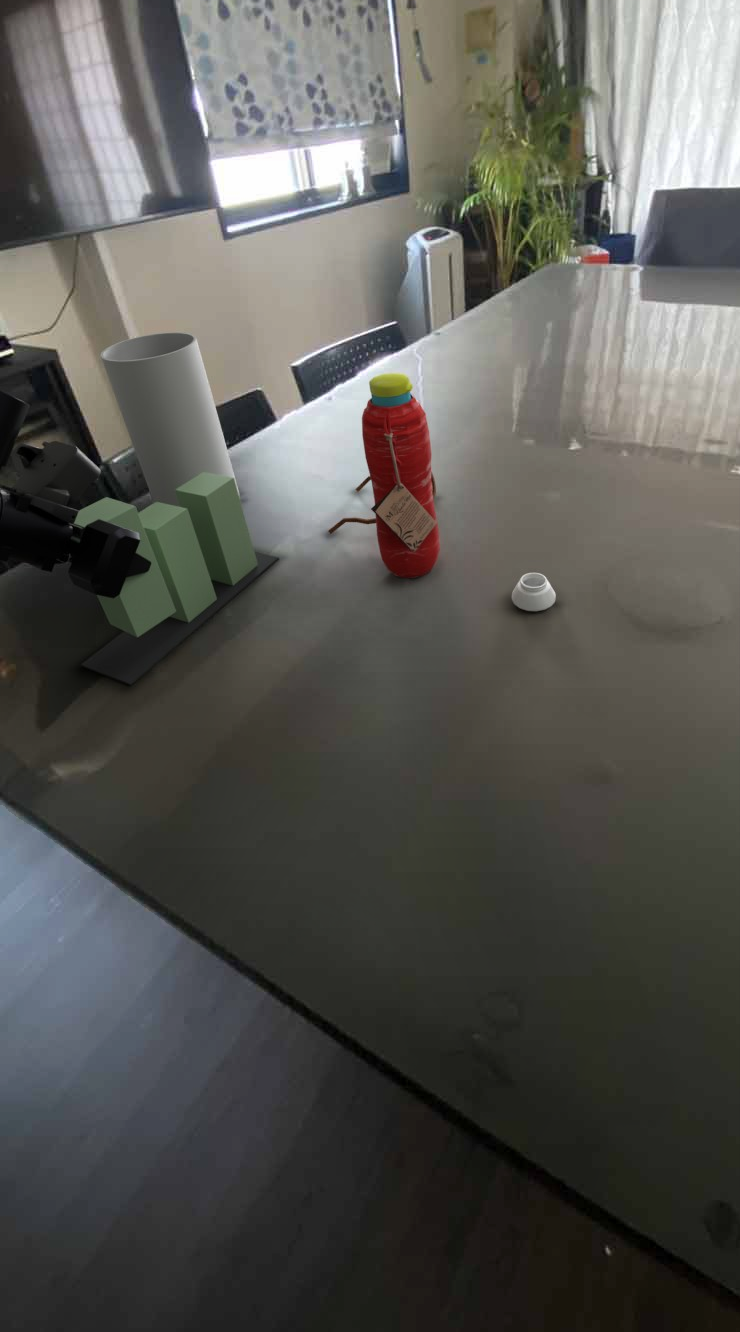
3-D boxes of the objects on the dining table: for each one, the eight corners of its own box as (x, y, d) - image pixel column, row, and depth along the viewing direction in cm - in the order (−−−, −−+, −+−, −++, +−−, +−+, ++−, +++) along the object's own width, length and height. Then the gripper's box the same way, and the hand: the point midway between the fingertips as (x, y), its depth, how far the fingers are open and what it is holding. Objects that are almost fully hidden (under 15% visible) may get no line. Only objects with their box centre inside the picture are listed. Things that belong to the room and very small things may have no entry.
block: (137, 637, 71) (90, 529, 64) (109, 624, 73) (61, 519, 66) (176, 611, 74) (135, 506, 67) (148, 599, 77) (106, 496, 69)
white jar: (524, 583, 83) (504, 606, 79) (524, 563, 81) (503, 585, 78) (562, 595, 80) (543, 618, 77) (563, 574, 78) (543, 598, 75)
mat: (130, 685, 74) (130, 683, 73) (81, 666, 77) (80, 664, 77) (279, 559, 92) (278, 557, 92) (233, 548, 95) (233, 546, 95)
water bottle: (440, 601, 81) (421, 400, 67) (374, 603, 82) (341, 404, 68) (445, 546, 91) (429, 360, 77) (386, 548, 92) (359, 364, 78)
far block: (233, 585, 87) (205, 496, 80) (204, 577, 89) (174, 489, 82) (258, 565, 91) (233, 477, 83) (229, 557, 93) (203, 471, 85)
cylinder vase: (252, 487, 110) (211, 330, 96) (222, 528, 100) (170, 359, 86) (181, 488, 112) (130, 334, 98) (144, 528, 102) (81, 363, 88)
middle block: (188, 622, 81) (154, 530, 74) (158, 613, 84) (122, 522, 76) (217, 599, 85) (187, 508, 78) (187, 590, 87) (156, 501, 80)
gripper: (80, 446, 53) (221, 506, 67) (-38, 413, 63) (107, 471, 76) (27, 581, 53) (181, 614, 66) (-84, 526, 62) (71, 565, 75)
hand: (133, 560), depth 71 cm, fingers closed on block, 5 cm apart
